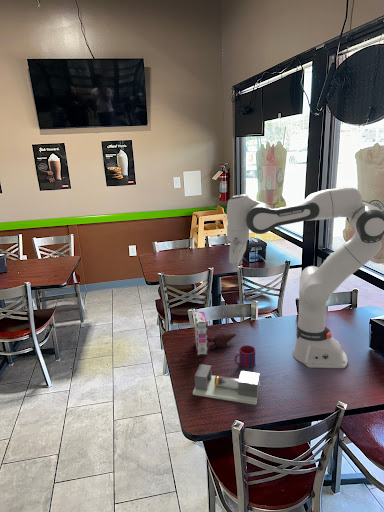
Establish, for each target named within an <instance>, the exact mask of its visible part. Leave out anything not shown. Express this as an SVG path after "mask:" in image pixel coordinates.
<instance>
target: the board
mask: <svg viewBox="0 0 384 512" xmlns="http://www.w3.org/2000/svg"><path fill="white" fill-rule="evenodd" d="M216 376H217V375H212V374H211V377H212V379H211V380H207V391H203V390H197V389H195V387H194V388H193V391H192V395H193V396H198V397H205V398H211V399H217V400H223V401H229V402H235V403H243V404H248V405H254V406H257V404H258V398H259V395H258V396H257V398H255V397H248V396H242V395H238V390H235V389H228V388H222V387H215V385H214V382H215V377H216ZM260 385H261V382H260V381H259V388H260V387H261V386H260ZM259 392H260V390H259V391H258V394H259Z"/></svg>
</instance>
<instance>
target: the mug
mask: <svg viewBox="0 0 384 512" xmlns="http://www.w3.org/2000/svg"><path fill="white" fill-rule="evenodd" d="M238 349H239V351H238V352H239V353H236V355H235V356H234V363H235V364H236V365H238V366H240V367H243V368H244V369H245V368H247V369H250V368H253V367H255V365H256V348H255V347H254V346H252V345H249V344H248V345H242V346H240V347H239V348H238ZM238 356H239V358H238ZM237 358H238V359H239V362H237V360H238V359H237Z"/></svg>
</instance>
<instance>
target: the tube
mask: <svg viewBox="0 0 384 512" xmlns="http://www.w3.org/2000/svg"><path fill="white" fill-rule="evenodd" d="M215 376H216V377H215V382H214V385H215V387H222V388H228V389H235V390H238V381H239V378H236V377H235V378H234V377H228V376H221V375H215Z"/></svg>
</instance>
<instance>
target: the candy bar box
mask: <svg viewBox="0 0 384 512" xmlns="http://www.w3.org/2000/svg"><path fill="white" fill-rule="evenodd" d="M194 337H195V340H194V341H195V342H194V343H195V347H196V353H197V354H196V355H197V356H205V355H207V356H208V353H209V352H208V351H209V350H208V349H209V346H208V341H207V339H208V321H207V317H206V313H205V311H198V312H197V311H195V312H194Z"/></svg>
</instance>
